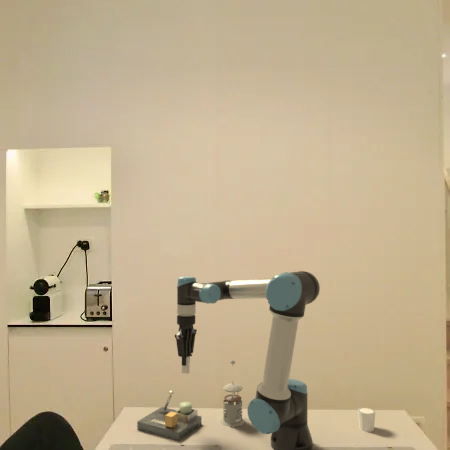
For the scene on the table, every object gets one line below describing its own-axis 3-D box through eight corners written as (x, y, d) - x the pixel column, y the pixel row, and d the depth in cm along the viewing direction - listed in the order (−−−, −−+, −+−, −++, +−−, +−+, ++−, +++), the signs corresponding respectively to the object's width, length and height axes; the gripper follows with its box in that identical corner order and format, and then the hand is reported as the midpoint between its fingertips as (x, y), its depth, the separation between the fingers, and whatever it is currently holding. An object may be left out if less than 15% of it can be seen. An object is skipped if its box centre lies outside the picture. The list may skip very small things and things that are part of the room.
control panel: (201, 423, 164) (201, 410, 164) (178, 440, 150) (179, 425, 150) (161, 413, 173) (162, 401, 174) (137, 429, 159) (137, 414, 160)
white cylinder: (356, 430, 159) (355, 412, 159) (358, 423, 165) (358, 405, 165) (374, 433, 156) (374, 415, 156) (376, 426, 162) (376, 409, 162)
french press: (218, 425, 163) (218, 362, 164) (225, 413, 174) (225, 355, 175) (242, 428, 160) (242, 364, 162) (247, 415, 172) (247, 356, 173)
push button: (194, 410, 164) (194, 403, 164) (187, 415, 160) (187, 407, 160) (184, 408, 166) (184, 401, 167) (177, 412, 162) (177, 405, 162)
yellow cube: (177, 423, 157) (177, 413, 157) (171, 427, 154) (171, 416, 154) (171, 421, 158) (171, 411, 159) (165, 425, 155) (165, 415, 155)
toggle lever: (168, 411, 169) (176, 392, 167) (164, 413, 167) (172, 393, 165) (163, 407, 170) (171, 388, 168) (160, 409, 168) (168, 390, 166)
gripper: (187, 311, 172) (186, 366, 171) (169, 316, 161) (168, 375, 160) (202, 312, 169) (201, 369, 168) (184, 318, 157) (184, 379, 156)
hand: (185, 372), depth 164 cm, fingers closed
